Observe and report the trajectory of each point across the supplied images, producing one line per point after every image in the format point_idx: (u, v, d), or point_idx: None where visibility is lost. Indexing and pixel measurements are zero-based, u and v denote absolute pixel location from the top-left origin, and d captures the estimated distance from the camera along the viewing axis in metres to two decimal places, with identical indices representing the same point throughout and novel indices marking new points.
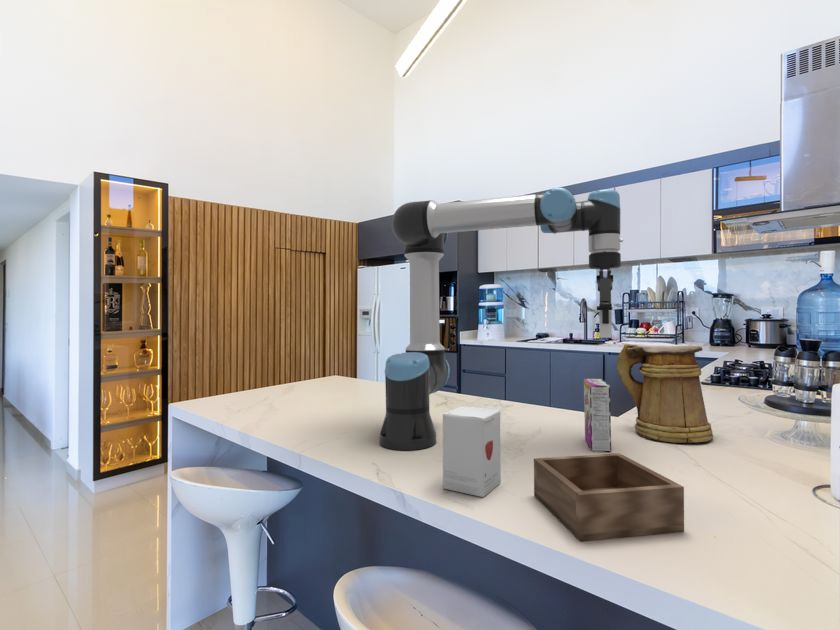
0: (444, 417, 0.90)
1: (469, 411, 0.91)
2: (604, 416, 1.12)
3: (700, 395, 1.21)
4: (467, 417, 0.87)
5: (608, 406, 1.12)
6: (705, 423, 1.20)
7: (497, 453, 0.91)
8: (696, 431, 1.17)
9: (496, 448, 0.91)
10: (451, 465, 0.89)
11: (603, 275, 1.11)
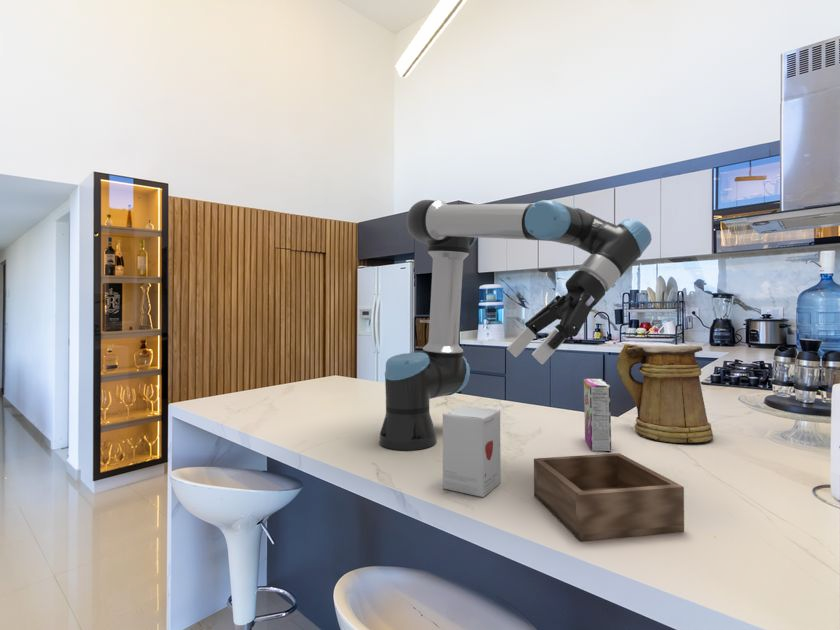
0: (444, 417, 0.90)
1: (469, 411, 0.91)
2: (604, 416, 1.12)
3: (700, 395, 1.21)
4: (467, 417, 0.87)
5: (608, 406, 1.12)
6: (705, 423, 1.20)
7: (497, 453, 0.91)
8: (696, 431, 1.17)
9: (496, 448, 0.91)
10: (451, 465, 0.89)
11: (587, 301, 0.88)
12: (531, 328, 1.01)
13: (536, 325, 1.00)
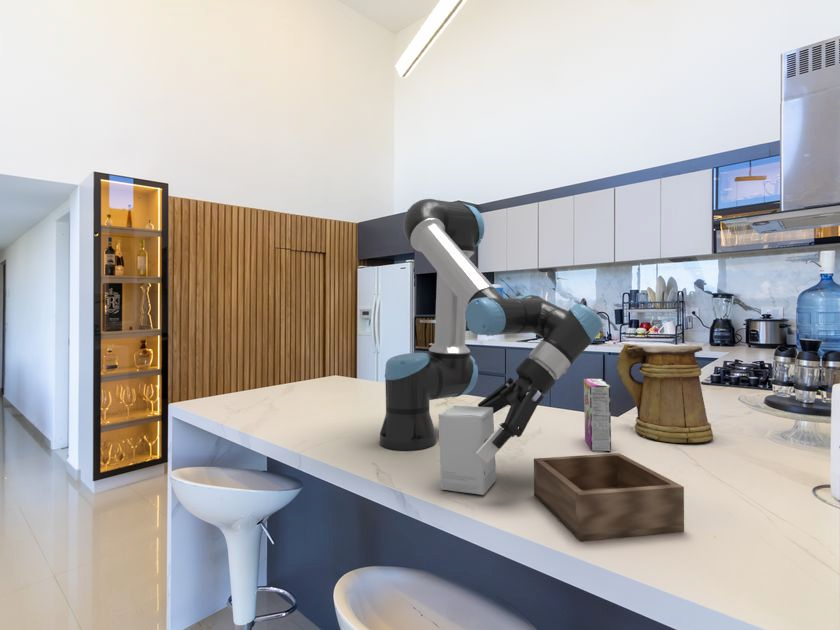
0: (440, 417, 0.89)
1: (464, 410, 0.91)
2: (604, 416, 1.12)
3: (700, 395, 1.21)
4: (464, 416, 0.87)
5: (608, 406, 1.12)
6: (705, 423, 1.20)
7: None
8: (696, 431, 1.17)
9: None
10: (449, 465, 0.89)
11: (534, 396, 0.86)
12: None
13: None
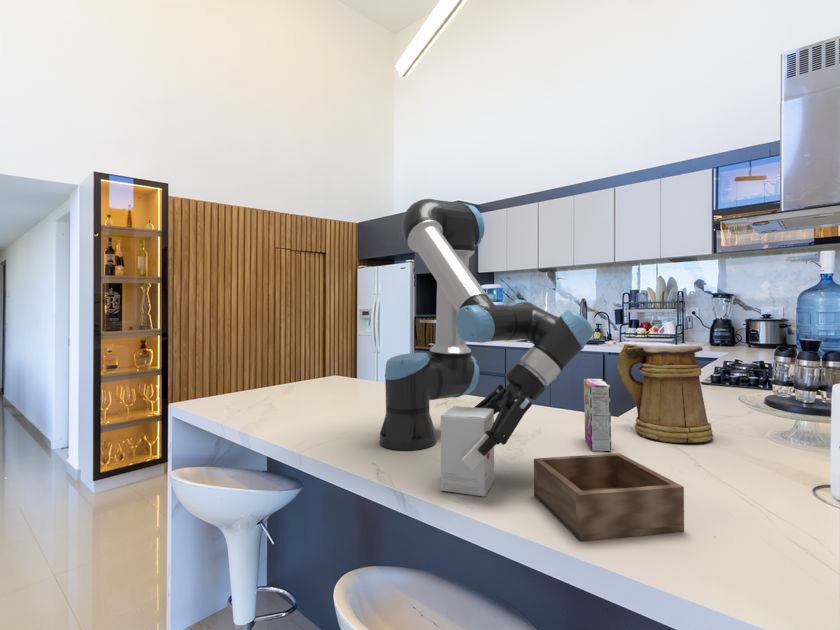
0: (442, 418, 0.89)
1: (465, 411, 0.91)
2: (604, 416, 1.12)
3: (700, 395, 1.21)
4: (467, 417, 0.87)
5: (608, 406, 1.12)
6: (705, 423, 1.20)
7: (492, 451, 0.92)
8: (696, 431, 1.17)
9: None
10: (450, 467, 0.88)
11: (521, 404, 0.86)
12: None
13: None
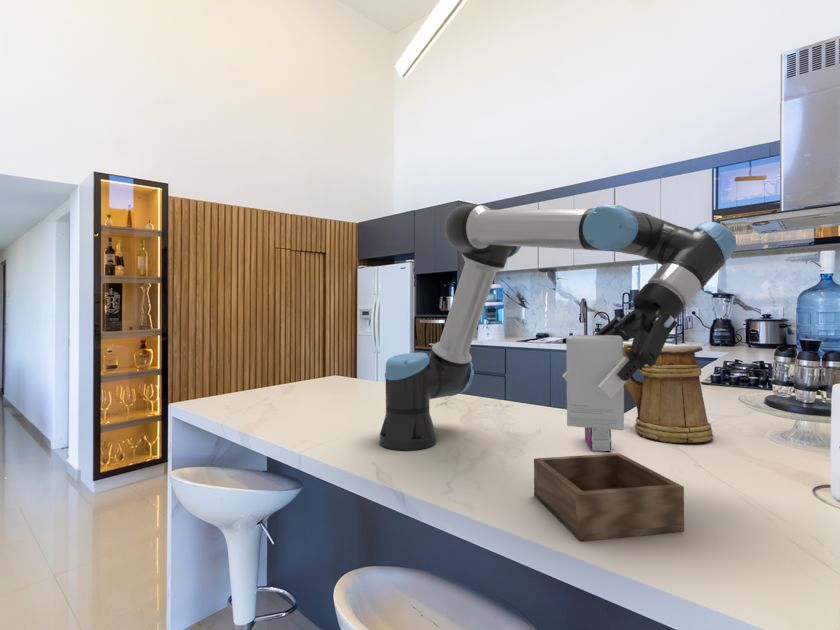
0: (569, 342, 0.76)
1: None
2: None
3: (700, 395, 1.21)
4: (601, 338, 0.75)
5: None
6: (705, 423, 1.20)
7: None
8: (696, 431, 1.17)
9: None
10: (580, 397, 0.76)
11: (666, 322, 0.73)
12: None
13: None
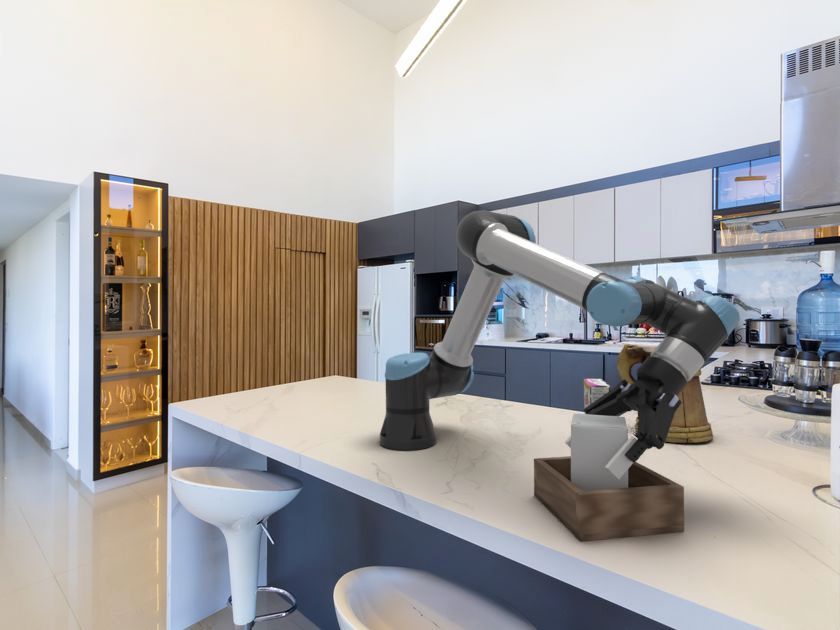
0: (573, 428, 0.76)
1: (596, 420, 0.79)
2: None
3: (700, 395, 1.21)
4: (605, 427, 0.74)
5: None
6: (705, 423, 1.20)
7: None
8: (696, 431, 1.17)
9: None
10: (584, 485, 0.76)
11: (671, 401, 0.73)
12: None
13: None
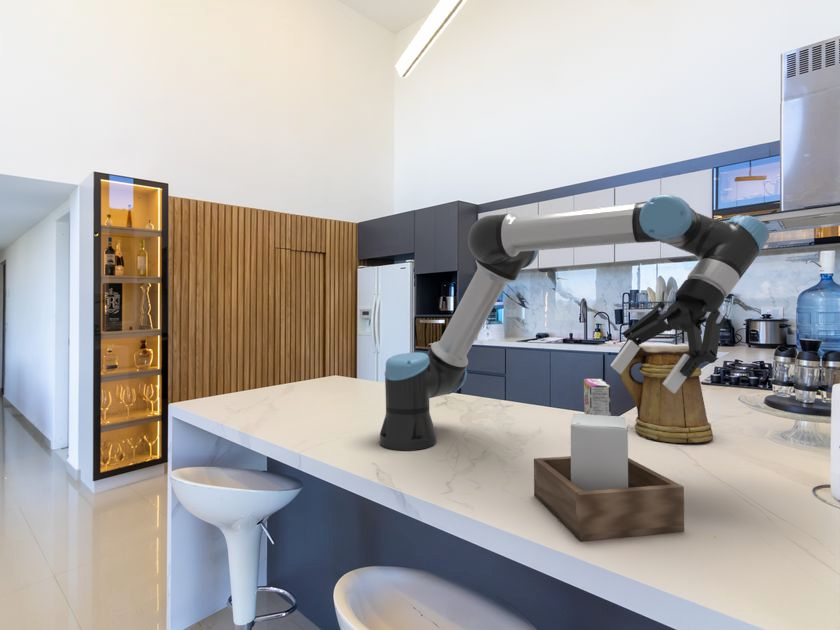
0: (573, 428, 0.76)
1: (596, 420, 0.79)
2: None
3: (700, 395, 1.21)
4: (605, 427, 0.74)
5: (608, 406, 1.12)
6: (705, 423, 1.20)
7: None
8: (696, 431, 1.17)
9: None
10: (584, 485, 0.76)
11: (717, 318, 0.80)
12: (633, 340, 0.93)
13: (640, 337, 0.92)
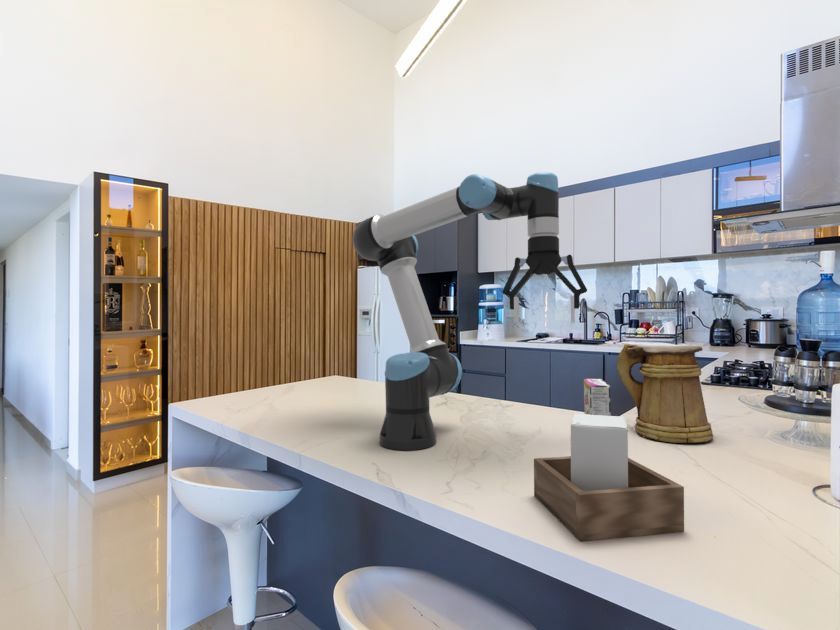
0: (573, 428, 0.76)
1: (596, 420, 0.79)
2: None
3: (700, 395, 1.21)
4: (605, 427, 0.74)
5: (608, 406, 1.12)
6: (705, 423, 1.20)
7: None
8: (696, 431, 1.17)
9: None
10: (584, 485, 0.76)
11: (572, 260, 1.11)
12: (514, 294, 1.17)
13: (518, 290, 1.16)
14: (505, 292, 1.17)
